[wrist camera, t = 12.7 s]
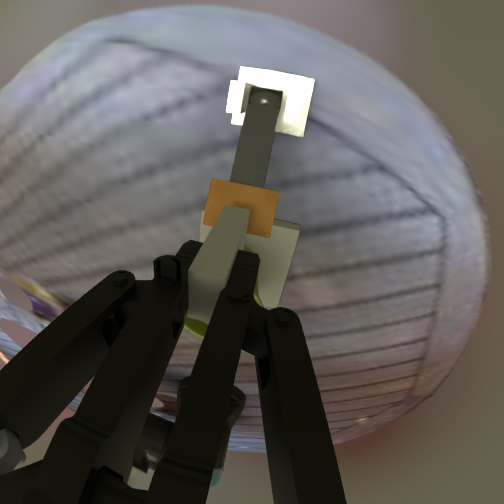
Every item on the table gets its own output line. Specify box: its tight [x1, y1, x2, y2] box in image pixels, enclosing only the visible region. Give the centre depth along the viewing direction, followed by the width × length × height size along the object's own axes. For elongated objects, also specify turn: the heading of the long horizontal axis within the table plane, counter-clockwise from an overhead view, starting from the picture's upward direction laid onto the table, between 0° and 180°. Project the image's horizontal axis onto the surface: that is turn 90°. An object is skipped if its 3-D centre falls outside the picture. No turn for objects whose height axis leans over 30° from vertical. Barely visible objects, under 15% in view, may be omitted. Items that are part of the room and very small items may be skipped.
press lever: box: [202, 86, 283, 238], centre depth 18 cm, size 10×4×2 cm, turn 171°
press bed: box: [200, 206, 300, 308], centre depth 34 cm, size 12×11×2 cm
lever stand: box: [226, 66, 315, 137], centre depth 20 cm, size 6×7×9 cm
